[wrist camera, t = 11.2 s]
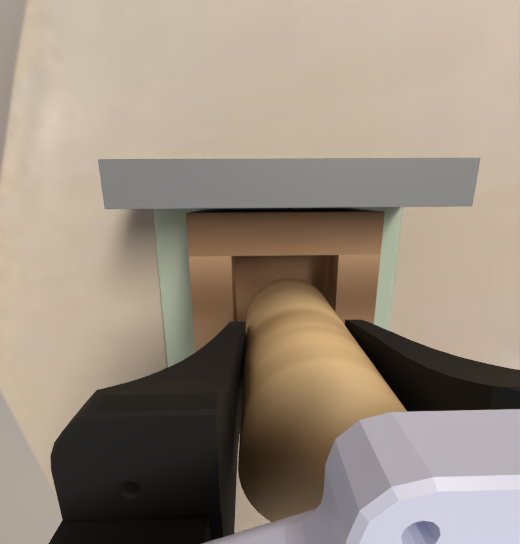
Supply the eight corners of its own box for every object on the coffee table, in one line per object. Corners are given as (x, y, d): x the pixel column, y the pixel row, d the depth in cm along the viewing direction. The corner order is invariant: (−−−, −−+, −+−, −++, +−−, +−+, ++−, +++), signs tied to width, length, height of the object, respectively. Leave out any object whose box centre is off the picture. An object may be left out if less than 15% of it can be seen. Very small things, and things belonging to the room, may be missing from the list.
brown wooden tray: (346, 350, 21) (368, 384, 17) (208, 352, 21) (197, 388, 17) (357, 209, 18) (384, 211, 14) (200, 210, 18) (185, 213, 14)
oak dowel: (326, 353, 14) (411, 532, 7) (247, 355, 14) (240, 538, 7) (330, 277, 13) (436, 383, 6) (245, 278, 13) (235, 387, 6)
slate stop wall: (400, 204, 19) (472, 206, 13) (154, 205, 19) (104, 209, 12) (403, 172, 18) (480, 157, 12) (151, 173, 18) (98, 159, 12)
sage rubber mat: (377, 414, 23) (379, 418, 22) (174, 419, 22) (173, 423, 22) (404, 160, 18) (408, 159, 18) (150, 161, 18) (148, 160, 17)
